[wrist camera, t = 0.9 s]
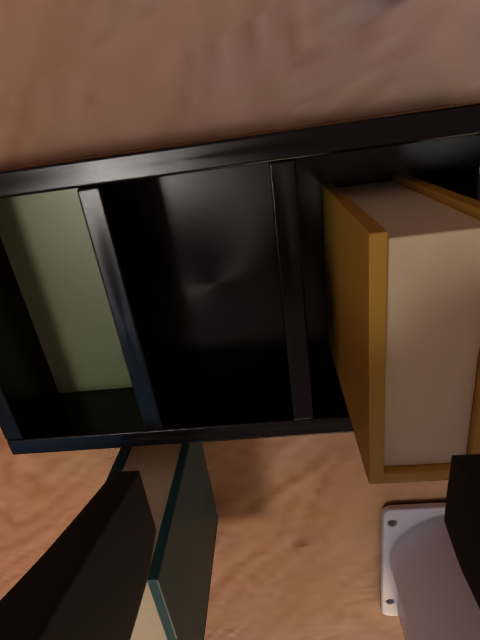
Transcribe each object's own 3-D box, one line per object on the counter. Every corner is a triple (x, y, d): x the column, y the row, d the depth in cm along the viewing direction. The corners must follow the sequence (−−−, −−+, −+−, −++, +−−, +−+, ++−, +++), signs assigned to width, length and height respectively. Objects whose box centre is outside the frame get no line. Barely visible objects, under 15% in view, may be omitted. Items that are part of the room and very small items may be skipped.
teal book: (218, 519, 25) (197, 699, 17) (162, 521, 25) (116, 699, 17) (196, 416, 21) (157, 579, 14) (132, 421, 22) (60, 583, 14)
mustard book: (397, 339, 18) (484, 479, 11) (328, 345, 19) (369, 484, 11) (402, 172, 15) (524, 215, 8) (320, 183, 16) (368, 233, 9)
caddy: (435, 369, 19) (473, 424, 16) (54, 399, 21) (12, 455, 18) (455, 104, 15) (516, 98, 11) (-32, 173, 17) (-113, 186, 13)
